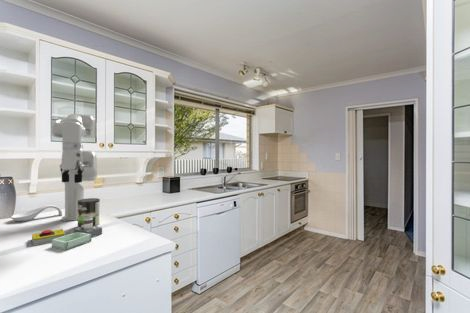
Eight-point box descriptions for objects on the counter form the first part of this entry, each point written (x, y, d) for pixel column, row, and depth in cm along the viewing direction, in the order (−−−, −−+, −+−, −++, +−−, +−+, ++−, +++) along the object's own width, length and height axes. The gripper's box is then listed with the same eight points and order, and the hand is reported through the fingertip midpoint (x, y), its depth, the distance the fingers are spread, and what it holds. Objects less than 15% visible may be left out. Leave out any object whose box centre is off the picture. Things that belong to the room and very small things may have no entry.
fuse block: (87, 231, 122) (87, 223, 122) (102, 233, 118) (102, 225, 118) (74, 235, 115) (74, 227, 115) (88, 238, 111) (88, 230, 111)
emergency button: (27, 231, 108) (68, 225, 118) (27, 241, 108) (68, 234, 118) (28, 237, 101) (71, 229, 111) (28, 247, 101) (71, 239, 111)
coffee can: (86, 229, 124) (86, 202, 124) (73, 227, 128) (73, 200, 128) (104, 224, 133) (104, 198, 133) (91, 222, 137) (91, 197, 137)
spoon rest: (11, 224, 132) (11, 211, 132) (10, 220, 140) (10, 208, 140) (63, 216, 150) (63, 205, 149) (59, 213, 158) (59, 202, 158)
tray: (77, 238, 111) (77, 231, 111) (91, 241, 108) (91, 234, 108) (51, 246, 101) (51, 239, 101) (66, 250, 98) (66, 242, 98)
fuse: (89, 232, 119) (89, 214, 119) (94, 233, 117) (94, 215, 117) (81, 235, 115) (81, 216, 115) (87, 236, 114) (87, 217, 114)
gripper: (90, 146, 117) (90, 182, 117) (68, 148, 125) (68, 181, 124) (75, 146, 111) (75, 183, 110) (52, 147, 118) (52, 182, 117)
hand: (71, 182), depth 117 cm, fingers open, 9 cm apart
